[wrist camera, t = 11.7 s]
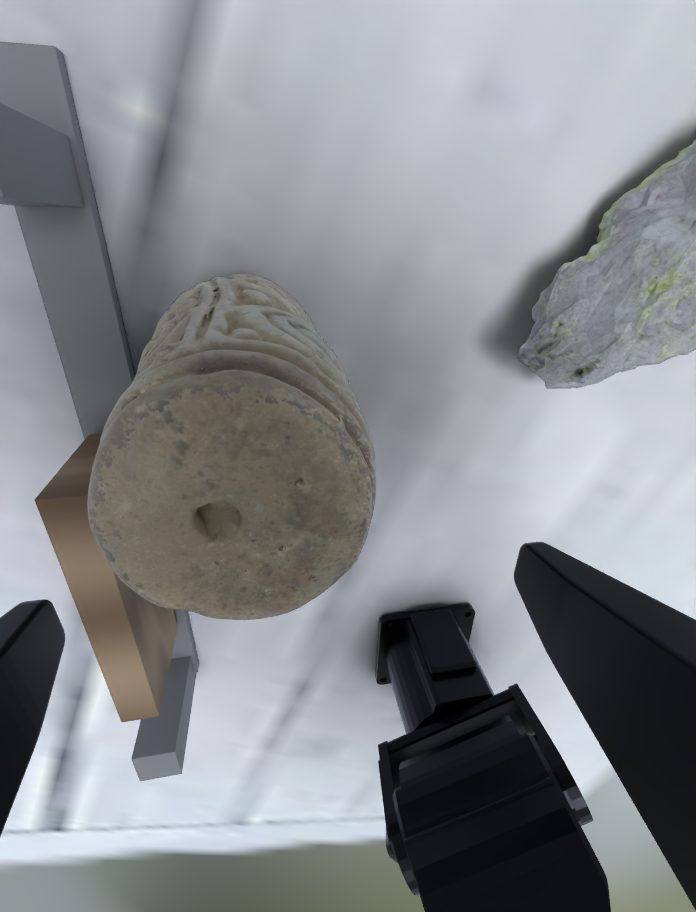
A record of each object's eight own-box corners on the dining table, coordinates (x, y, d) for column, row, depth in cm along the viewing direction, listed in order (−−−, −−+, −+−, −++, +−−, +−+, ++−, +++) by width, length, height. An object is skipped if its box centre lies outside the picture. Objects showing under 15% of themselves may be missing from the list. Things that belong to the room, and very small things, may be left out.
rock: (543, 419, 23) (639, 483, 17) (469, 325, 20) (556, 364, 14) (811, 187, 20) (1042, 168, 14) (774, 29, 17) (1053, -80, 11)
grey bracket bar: (200, 668, 27) (185, 772, 22) (160, 674, 27) (135, 781, 21) (62, 53, 13) (-65, -61, 8) (-24, 46, 13) (-217, -78, 8)
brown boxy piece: (268, 615, 25) (269, 698, 20) (147, 631, 24) (121, 722, 19) (249, 425, 19) (245, 483, 15) (89, 434, 18) (34, 499, 14)
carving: (212, 453, 20) (160, 686, 10) (140, 291, 17) (-62, 388, 6) (339, 417, 21) (418, 605, 10) (296, 250, 17) (351, 276, 7)
